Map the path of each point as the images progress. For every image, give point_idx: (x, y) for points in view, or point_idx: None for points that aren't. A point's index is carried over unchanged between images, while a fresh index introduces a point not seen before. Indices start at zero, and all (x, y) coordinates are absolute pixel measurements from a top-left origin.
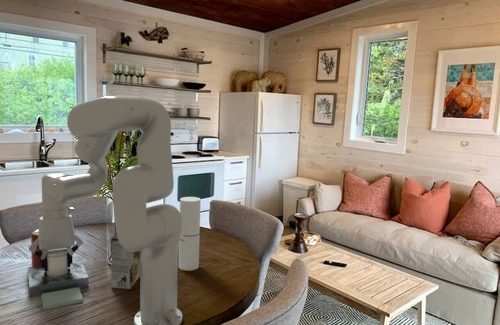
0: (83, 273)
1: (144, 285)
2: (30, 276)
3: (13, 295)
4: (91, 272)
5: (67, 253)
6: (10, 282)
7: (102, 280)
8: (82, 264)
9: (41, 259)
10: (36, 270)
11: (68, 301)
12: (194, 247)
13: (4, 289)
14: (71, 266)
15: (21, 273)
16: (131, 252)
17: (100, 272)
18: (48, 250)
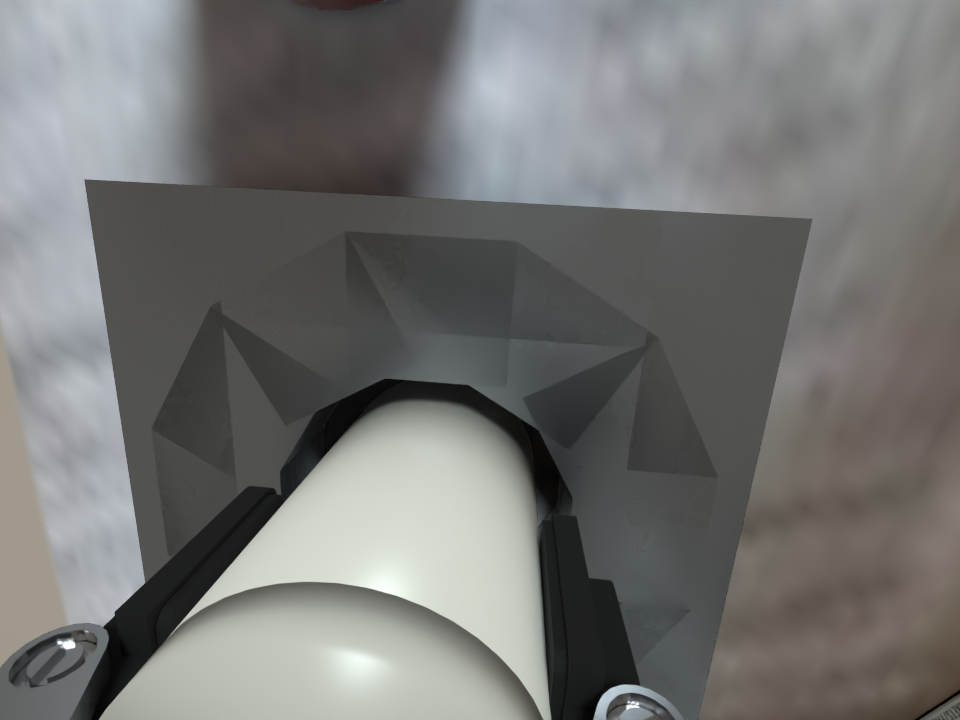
0: (670, 686)
1: None
2: (149, 494)
3: (107, 554)
4: (796, 423)
5: (566, 683)
6: (36, 276)
7: (807, 646)
8: (757, 432)
9: (115, 629)
10: (198, 353)
11: None
12: None
13: (19, 410)
14: (608, 430)
15: (100, 62)
16: None
17: (879, 469)
18: (118, 715)
